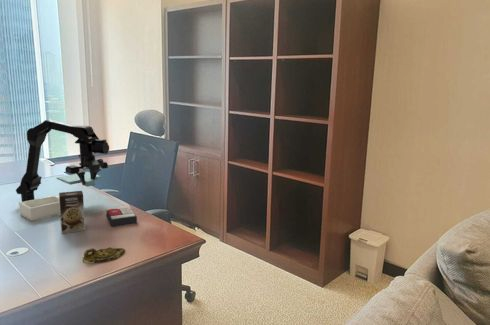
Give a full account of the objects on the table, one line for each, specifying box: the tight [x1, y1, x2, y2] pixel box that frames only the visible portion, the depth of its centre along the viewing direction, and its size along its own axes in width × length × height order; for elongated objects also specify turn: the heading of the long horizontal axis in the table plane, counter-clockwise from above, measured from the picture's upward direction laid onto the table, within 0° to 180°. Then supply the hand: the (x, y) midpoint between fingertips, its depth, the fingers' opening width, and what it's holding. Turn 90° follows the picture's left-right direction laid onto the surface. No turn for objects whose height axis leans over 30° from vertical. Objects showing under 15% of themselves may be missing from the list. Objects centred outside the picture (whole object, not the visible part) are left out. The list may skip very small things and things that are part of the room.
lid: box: [56, 171, 102, 187], centre depth 186 cm, size 17×16×2 cm
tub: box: [18, 195, 60, 222], centre depth 176 cm, size 12×16×6 cm
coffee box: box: [58, 190, 86, 234], centre depth 158 cm, size 9×6×16 cm
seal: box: [82, 247, 126, 264], centre depth 136 cm, size 9×5×15 cm
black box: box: [105, 206, 138, 228], centre depth 172 cm, size 11×4×15 cm
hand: (88, 184), depth 182 cm, fingers closed on lid, 4 cm apart
